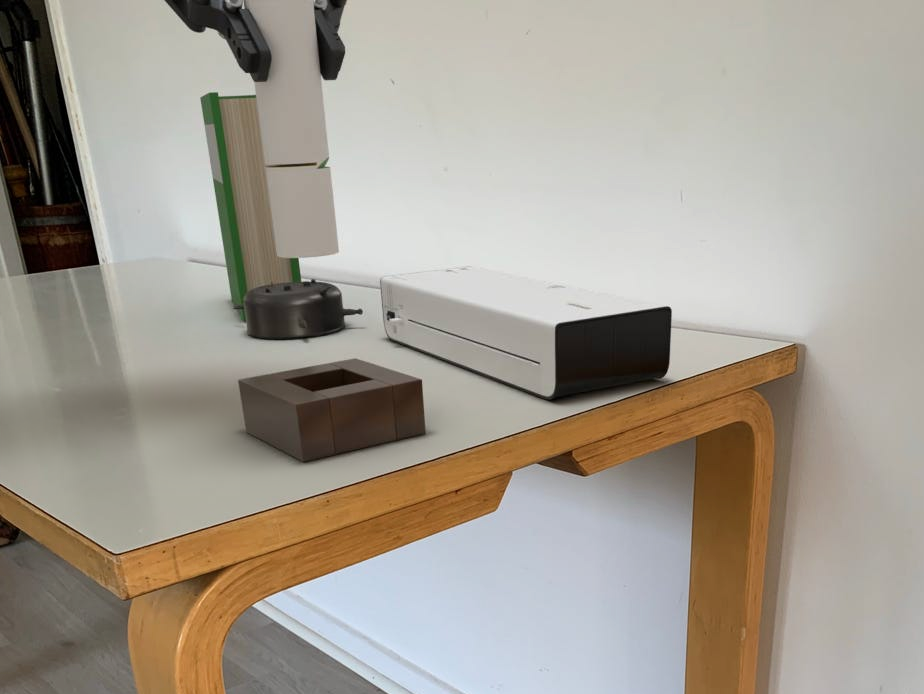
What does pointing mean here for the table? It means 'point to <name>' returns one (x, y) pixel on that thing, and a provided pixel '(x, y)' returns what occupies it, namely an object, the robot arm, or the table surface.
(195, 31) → the robot arm
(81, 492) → the table surface
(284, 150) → the tube
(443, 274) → the laminator
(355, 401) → the socket block
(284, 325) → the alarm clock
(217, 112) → the hardback book
